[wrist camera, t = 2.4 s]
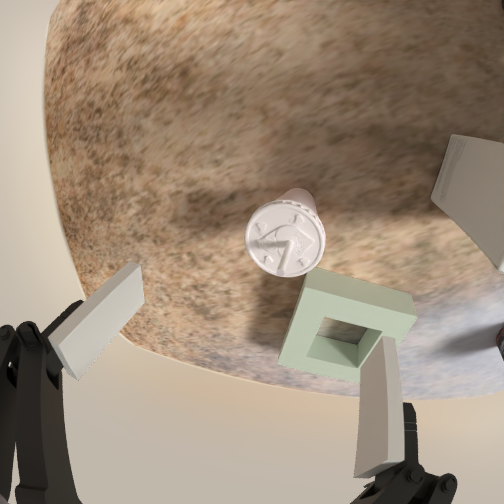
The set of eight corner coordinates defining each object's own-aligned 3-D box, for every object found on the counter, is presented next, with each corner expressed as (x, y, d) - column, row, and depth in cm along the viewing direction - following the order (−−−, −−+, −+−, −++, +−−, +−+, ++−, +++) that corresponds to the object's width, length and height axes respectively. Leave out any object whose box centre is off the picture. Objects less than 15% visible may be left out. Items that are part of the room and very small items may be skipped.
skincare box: (467, 219, 24) (537, 300, 10) (425, 197, 24) (492, 275, 11) (491, 155, 19) (582, 200, 6) (449, 127, 20) (543, 152, 7)
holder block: (308, 265, 32) (304, 286, 28) (410, 293, 30) (417, 316, 26) (282, 341, 39) (276, 364, 35) (367, 362, 37) (367, 384, 33)
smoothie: (330, 229, 29) (325, 312, 17) (274, 233, 31) (235, 311, 20) (323, 172, 27) (317, 221, 15) (264, 179, 29) (213, 230, 17)
